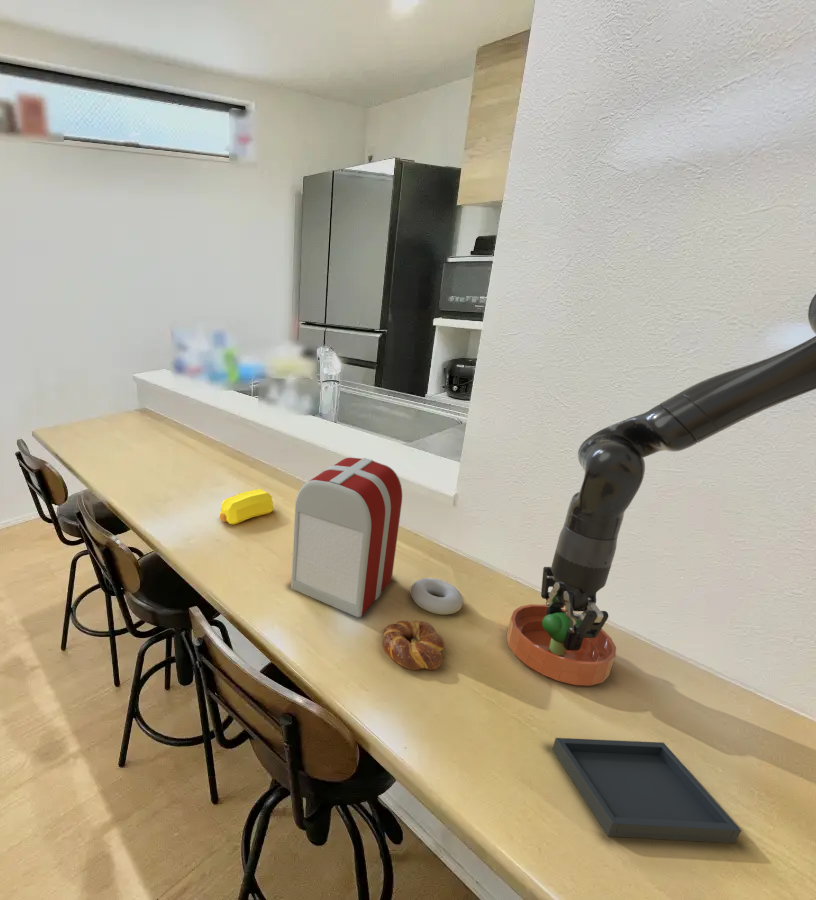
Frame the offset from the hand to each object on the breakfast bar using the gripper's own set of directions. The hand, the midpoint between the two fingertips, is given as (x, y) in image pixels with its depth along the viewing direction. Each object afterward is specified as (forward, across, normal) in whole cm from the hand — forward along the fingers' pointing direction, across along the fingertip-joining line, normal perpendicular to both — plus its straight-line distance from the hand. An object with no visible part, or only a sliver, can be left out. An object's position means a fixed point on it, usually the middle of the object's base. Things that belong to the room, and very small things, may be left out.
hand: (560, 636), depth 87 cm
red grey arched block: (+4, +20, +34) cm, 40 cm away
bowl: (+4, 0, 0) cm, 4 cm away
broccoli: (+3, 0, 0) cm, 3 cm away
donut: (+4, +14, +16) cm, 22 cm away
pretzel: (+4, 0, +25) cm, 25 cm away
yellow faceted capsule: (+4, +51, +55) cm, 75 cm away
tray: (+4, -25, +4) cm, 26 cm away
